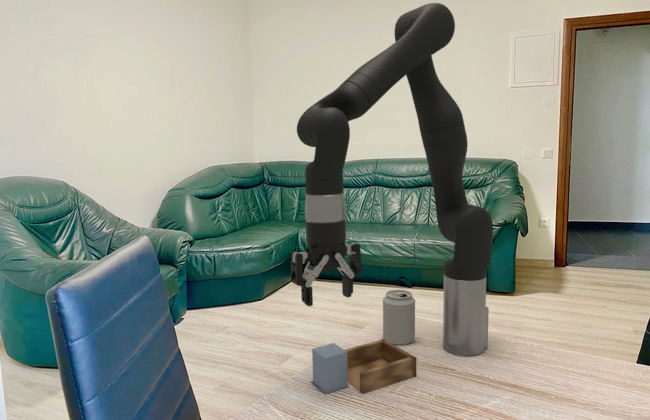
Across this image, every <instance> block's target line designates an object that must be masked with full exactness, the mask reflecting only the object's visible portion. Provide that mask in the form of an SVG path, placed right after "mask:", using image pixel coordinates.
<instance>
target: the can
mask: <svg viewBox="0 0 650 420" xmlns="http://www.w3.org/2000/svg"><path fill="white" fill-rule="evenodd" d="M382 337H383V338H382V339H384V340H386V341H388V342H390V343H391V344H393V345H395V346H404V345H409V344H411V343H413V342H414V341H415V339H416V299H415V297H413V293H412V292H411V291H409V290H405V289H390V290H388V291H386V292H385V296H384V297H383V298H382Z"/></svg>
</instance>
